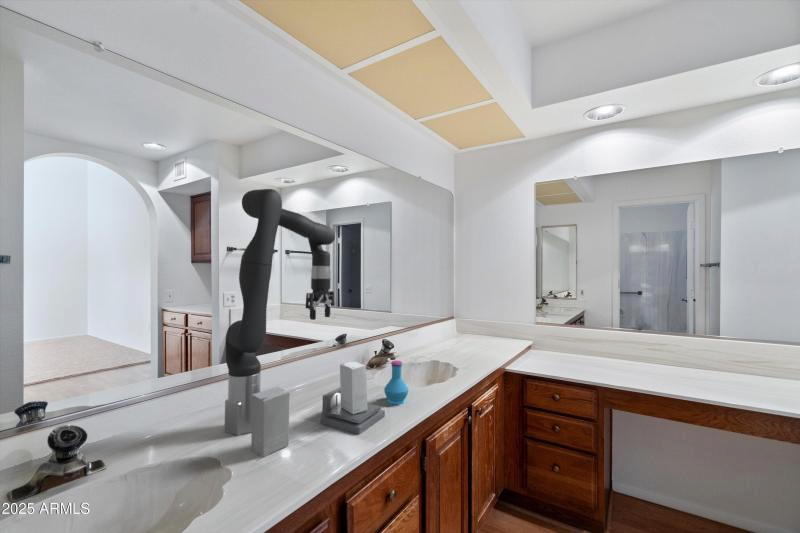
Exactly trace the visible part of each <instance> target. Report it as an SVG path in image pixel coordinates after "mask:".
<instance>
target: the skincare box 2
mask: <svg viewBox="0 0 800 533" xmlns="http://www.w3.org/2000/svg"><path fill="white" fill-rule="evenodd" d="M339 376H340V378H339V382H340V386H339V388H341V408H343V409H345V410H346V411H348V412H350V413H351V414H356V413H360V412H364V411H367V403H368V389H367V388H368V387H367V386H368V384H367V365H365V364H363V363H359V362H357V361H353V360H352V361H350V362H349V361H348V362H344V363H340V364H339Z"/></svg>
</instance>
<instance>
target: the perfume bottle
mask: <svg viewBox="0 0 800 533" xmlns="http://www.w3.org/2000/svg"><path fill="white" fill-rule="evenodd" d="M403 364H404V363H403V361H401V360H392V361H391V362H390V365H391V379H390V380H389V381H388V382H387V384H386V385H385V386H384V388H383V390H384V394H385V396H386V399H387V403H388V404H391V405H403V404H404V403H405V402H406V399H407V396H408V394H409V387H408V386H407V384H406V383H405V381H404V380H403V378H402V366H403Z"/></svg>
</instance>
